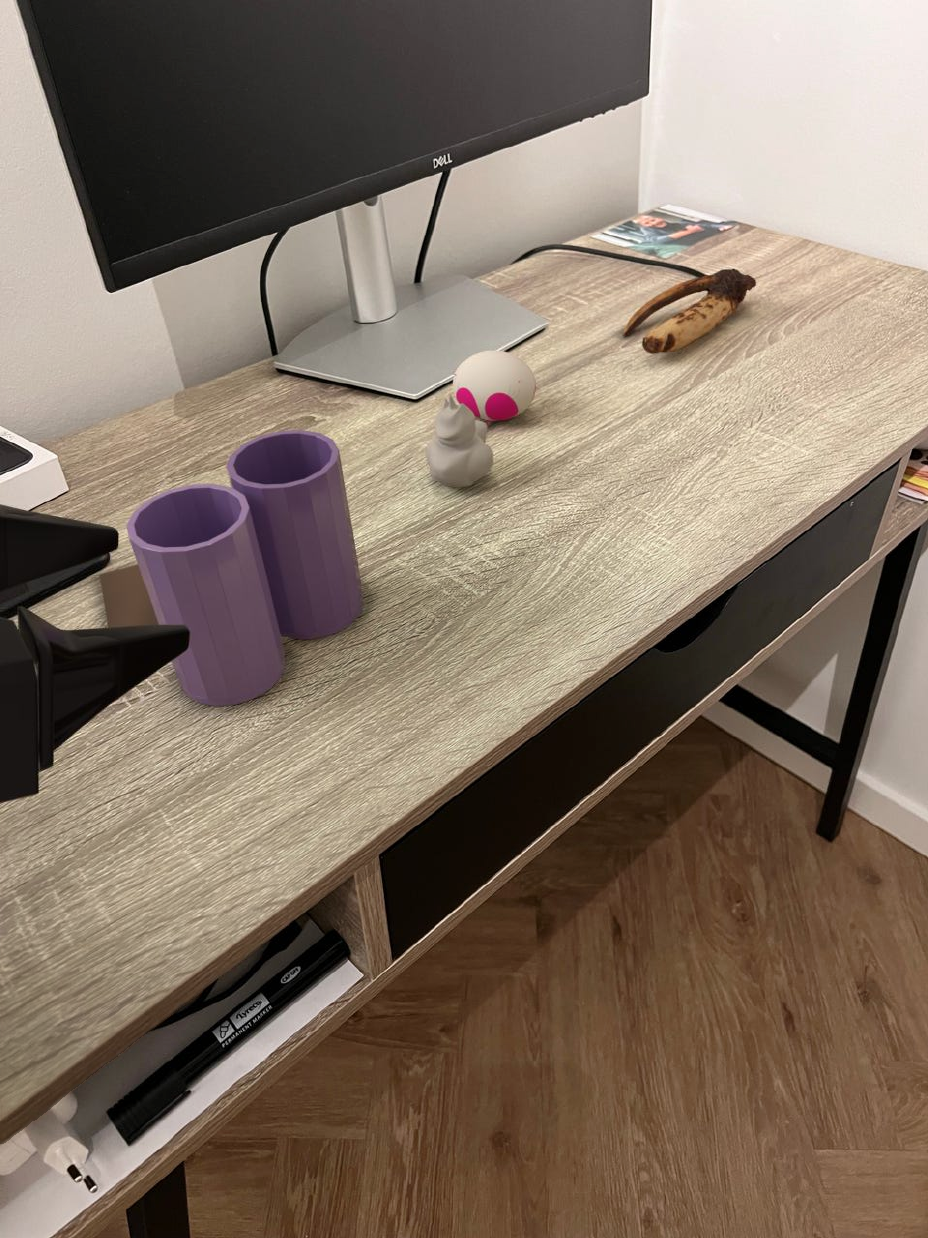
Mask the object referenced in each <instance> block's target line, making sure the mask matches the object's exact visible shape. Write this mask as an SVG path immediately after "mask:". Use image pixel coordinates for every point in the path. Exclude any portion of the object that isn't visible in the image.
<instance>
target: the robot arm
mask: <svg viewBox="0 0 928 1238" xmlns="http://www.w3.org/2000/svg"><path fill="white" fill-rule="evenodd" d="M119 536H120V535H119V531H118V530H117V528H115V527H113V526H110V525H105V524H101V523H94V522H90V521H85V520H84V521H83V520H78V519H73V518H68V517H64V516H58V515H53V514H47V513H41V512H38V511H32V510H28V509H23V508H18V507H13V506H9V505H6V504H1V503H0V592H3V591H6V590H8V589H12V588H15V587H17V586H21V585H24V584H27V583H30V582H33V581H35V580H38V579H41V578H44V577H47V576H50V575H53V574H56V573H59V572H62V571H65V570H68V569H71V568H74V567H76V566H80V565H82V564H83V565H84V564H86V563H89V562H91V561H93V560H95V559H99V558H102V557H103V556H105V555H107V554H110V553H113V552H115V551H117V550H118V548H119V538H120V537H119ZM189 641H190V631H189V629H188V628H187V627H186V626H185V625H141V626H125V627H110V628H108V627H97V628H81V629H80V628H79V629H61V628H60V627H57V626H55V625H54V624H52V623H50V622H49V621H47V620H46V619H45V618H42V617H41V616H39V615H37V614H36V613H35V612H33V611H31V610H30V609H28V608H26V607H25V606H21V605H20V606H19V605H18V606H17V624H16V623H15V621H14V620H13V619H10V618H6V617H2V616H0V804H3V803H7V802H10V801H11V802H12V801H16V800H19V799H24V798H28V797H32V796H36V795H39V794H40V778H39V777H40V773H39V772H43V771H46V770H49V769H51V768H52V767H53V766H54V765H55V751H56V750H57V749H58V748H60V747H61V746H62V745H63V744H64V743H65V742H67V741H68V740H69V739H71V738H72V737H73V736H74V735H75V734H77V732H79V731H80V730H81V729H82V728H84V726H86V725H87V724H88V723H89V722H91V721H92V720H93V719H94V718H95V717H96V716H98V715H99V714H100V713H101V712H103V711H104V710H105V709H106V708H109V706H111V705H112V704H114V703H115V702H116V701H117V700H119V699H120V698H122V697H123V696H124V695H126V694H127V693H129V692H130V691H131V690H132V689H134V688H136V687H137V686H138V685H140V684H141V683H142V682H144V681H146V680H147V679H148V678H150V677H151V676H153V675H154V674H155V673H157V672H158V671H160V670H162V668H164V667H165V666H167V665H168V664H170V663H172V660H174V659H175V658H177V657H178V656H179V655H181V654H182V653H184V652H185V651H186V650H187V649H188V647H189Z"/></svg>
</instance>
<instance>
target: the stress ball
mask: <svg viewBox="0 0 928 1238" xmlns="http://www.w3.org/2000/svg"><path fill="white" fill-rule="evenodd" d="M452 375H453V379H452V390H453V394H454V397H455V400H456V402H457V403H458V405H460V404H461V403H463V404H464V405H465V406H466V407H468V408H469V409H470V410H471V411H472V412H473V414H474V415H475V418H478V419H480V420H484V421H486V422H484V423H485V424H486V425H487V426H488V425H489V424H490V423H491V421H492V422H493V421H495V422H496V421H506V420H509V419H510V420H511V419H513V418H514V417H517V416H519V415H520V414H522V413H523V412H524V411H526V410H527V408H528V407H530V405H531V404H532V402H533V400H534V398H535V396H536V392H537V391H536V390H537V383H536V377H535V374H534V372H533V370H532V369H531V367H530V366H529V364H527V362H525V361H524V360H523V359H522V358H520V357H519V356H517V355H515V354H513V353H510V352H508V351H502V350H485V351H480V352H477V353H475V354H472V355H470V356H469V357H467V358H466V359H465V360H464V361H463V362H461V363H460V365H459V366H458V367H457V369H456V371H455V373H454V372H452Z"/></svg>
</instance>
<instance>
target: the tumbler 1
mask: <svg viewBox="0 0 928 1238" xmlns="http://www.w3.org/2000/svg"><path fill="white" fill-rule="evenodd" d="M126 531H127V536H128V539H129V543H130V546H131V548H132V551H133V554H134V557H135V561H136V563H137V565H138V566H139V569H140V571H141V574H142V577H143V580H144V583H145V586H146V589H147V592H148V594H149V597H150V600H151V603H152V606H153V609H154V612H155V615H156V618H157V620H158V623H159V625H185V626H186V627H187V628H188V629H189V631H190V641H189V647H188V649H187V650H186V651H185V652H184V653H182V654H181V655H179V656H178V657H177V658H175V659H174V660H172V661H171V663H172V667H173V669H174V672H175V675H176V678H177V681H178V684H179V685H180V688H181V689H182V691H183V693H184V694H185V695H186V696H187V697H189V698H190V699H191V700H192V701H195V702H197V703H200V704H201V705H206V706H212V707H228V706H234V705H238V704H239V705H240V704H243V703H247V702H249V701H251V700H253V699H256V698H258V697H259V696H261V695H263V694H264V693H266V692H268V691H269V690H270V689H271V688H273V687H274V686H275V685H276V684H277V682H278V681H279V680H280V678H281V677H282V675H283V673H284V671H285V669H286V663H287V661H286V659H287V658H286V651H285V647H284V644H283V638H282V635H281V634H280V630H279V626H278V622H277V618H276V613H275V609H274V605H273V601H272V597H271V593H270V589H269V585H268V581H267V577H266V572H265V568H264V564H263V560H262V556H261V552H260V548H259V544H258V540H257V536H256V531H255V527H254V523H253V519H252V515H251V511H250V507H249V505H248V502H247V500H246V497H245V496H244V495H243V494H241V493H240V492H238V491H237V490H235V489H233V488H231V486H227V485H222V484H217V483H195V484H187V485H183V486H180V487H175V488H171V489H168V490H165V491H163V492H161V493H158V494H157V495H155V496H152V497H151V498H149V499H147V500H146V501H144V502H143V503H142V504H141V505H139V506H138V507H136V508H135V510H134V511H133V512H132V513H131V515H130V517H129V520H128V521H127V523H126Z"/></svg>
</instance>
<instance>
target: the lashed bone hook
mask: <svg viewBox="0 0 928 1238" xmlns="http://www.w3.org/2000/svg"><path fill="white" fill-rule="evenodd" d="M756 286H757V281H756V279H755V278H754V277H753V276H751V275H750V274H744V273H742V272H740V271H739V270H738V269H736V268H724V269H720V270H718V271H717V272H715V273H712V274H709V275H708V274H705V275H704V276H699V277H694V278H691V279H689V280H685V281H683V282H680V283H678V284H675V285H673V286H671V287H670V288H668V289H665V290H664V291H662V292H661V293H659V294H657V295H655V296H654V297H652V298H651V299H649V300H648V301H647V302H645V303H644V304H643V305H642V306H640V307H639V308H638V309H637V311H636V312H634V313H633V315H632V316H631V317H630V319H629V320H628V322H627V323H626V325H625V327H624V329H623V332H622V336H623V337H627V336H628V335H630V334H632V333H633V332H634V331H635V330H636V329H637V328H639V326H640V325H642V324H643V323H644V322H645V321H646V320H647V319H648V318H649V317H651V316H652V315H653V314H655V313H656V312H658V311H660V310H661V309H663V308H665V307H667V306H669V305H671V304H673V303H675V302H676V301H677V302H678V301H679V300H681V299H683V298H686V297H688V296H691V295H694V294H697V293H702V292H707V293H706V295H705V296H703V297H702V298H701V299H699V300H698V301H696V302H695V303H693V304H691V305H689V306H688V307H686V308H684V309H682V310H681V311H680V312H678V313H676V314H675V315H674V316H672V317H670V318H669V319H668V320H666V321H665V322H664V323H662V324H661V325H658V326H655V327H654V328H653V329H651V330H650V331H648V332H647V333H646V335H645V336H643V337H642V342H641V347H642V349H643V350H644V351H645V352H646V353H648V354H651V355H655V354H660V353H664V354H666V353H667V354H668V353H673V352H675V351H678V350H680V349H682V348H683V347H685V346H687V345H689V344H691V343H692V342H694V341H695V340H697V339H699V338H700V337H702V336H704V335H705V334H707V333H708V332H711V330H713V329H715V328H716V327H718V326H719V325H720V324H721V323H722V322H724V321H725V320H726V319H727V318H729V317H730V316H731V315H733V314H734V313H735V311H736V310H737V309H738V308H739V305H740V304H741V303H742V302H744V300H745V299H746V298H745V297H746V296H747V292H748V291H749V292H750V291H752V290H753V289H754V288H755V287H756Z"/></svg>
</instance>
